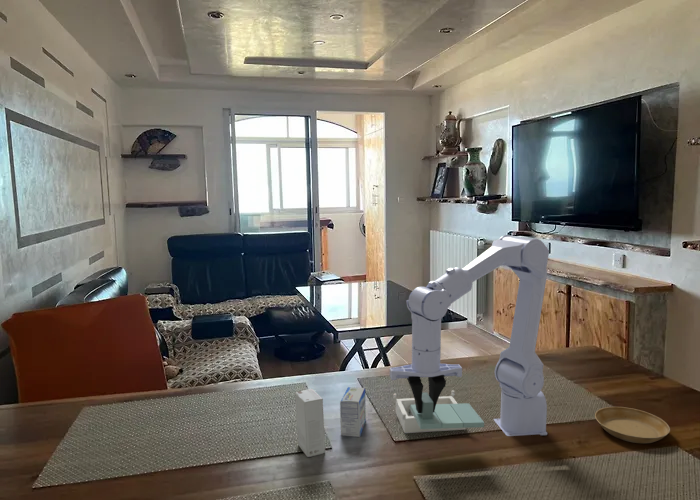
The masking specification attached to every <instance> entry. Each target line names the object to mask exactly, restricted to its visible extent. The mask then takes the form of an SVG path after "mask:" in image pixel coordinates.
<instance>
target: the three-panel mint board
mask: <svg viewBox="0 0 700 500" xmlns="http://www.w3.org/2000/svg"><path fill="white" fill-rule="evenodd" d="M433 403H434V402H433V401H432V399H431V398H430V396H429V392H427V391H426V392H422V413H418V412H417V410H416V405H410V410H411V412H412V414H413V415H414V417H415V419H416V421H417V423H418V425H419V427H420V429H438V428H467V429H468V428H469V429H470V428H471V429H472V428H485V422H484V420H483V419H482V418H481V416H480V415H479V414H478V412H477V411H476V410H475V409H474V408H473V407H472V405H471V404H470V403H469V402H468V403H467V402H466V403H463V402H462V403H458V404H436V407H435V411H434V412H433Z"/></svg>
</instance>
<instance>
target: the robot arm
mask: <svg viewBox="0 0 700 500" xmlns="http://www.w3.org/2000/svg"><path fill="white" fill-rule="evenodd" d="M549 255H550V249H548V247H547V246H546V244H545V243H544V241H542V240H541V239H539V238H528V237H519V236H515V235H510V234H503V235H502V236H500V237H499V238H498V239H495V240H493V241H492V243H491V246H490V247H489V248H488V249H486V250H485V251H483V252H482V253H481V254H479V255H478V256H477V257H476V258H475V259H473V260H471V261H470V262H469V263H468V264H467V265H465V266H464V267H463V268H461V267H456V266H455V267H449V268H447V269H445V273H443V274H442V275H441V276H439V277H437V278H436V279H434V280H430V281H429V282H428V283H427V285H426V286H424V285H423V286H421V285H420V286H417V287H415V288H414V289H412V291H411V292H410V294H409V296H408V299H407V300H405V301H406V307H407V309H408V311H409V312H410V313H411V314H410V315H411V316H410V317H411V323H412V324H411V326H412V327H411V363H410V364H405V365H401V366H395V367H389V378H390V380H391V381H397V380H398V379H406V380H407V381H408V384H409V387H410V389H411V392H412V394H413V398H414V399H415V404H416V410H417V412H418V413H422V393H423V390H424V385H423V383H422V379H421V378H427V379H428V380H427V381H428V395H429V396H430V398H431V399H432V401H433V402H434V403H433V412H434V411H435V407H436V403H437V400H438V398H439V397H441V393H442V392H443V390H444V389H445V387H446V384H447V379H446V378H445V377H456V378H462V377H463V367H462V366H461V365H460V364H459V363H458V364H451V363H441V350H442V349H441V347H442V344H441V343H442V342H441V341H442V340H441V339H442V319H443V317H445V316H446V315H447V312H448V310H449V307H451V305H452V304H453V303H454V302H456V301H457V300H459V299H460V298H463V296H464V295H466V294H467V293H469V292H470V291H472V289H473V283H474V282H476V281H478V280H479V279H480V278H482V277H484V276H485V275H487V274H490V273H491V272H493V271H494V270H496V269H498V268H499V267H502V266H506V267H508V268H510V269H511V270H512V272H513V273H514V274H515V275H516V277H517V278H518V279H519V282H518V289H517V295H516V302H515V308H514V316H513V320H512V327H511V328H512V329H511V333H510V340H509V346H508V347H507V348H506V349H504V350H502V351H501V352H500V355H499V359H498V361H497V363H496V365H495V367H494V377H495V379H496V381H497V382H498V383H499V386H498V387H499V388H500V389H501V393H500V418H493V421H494V423H496V425H498V427H499V428H500V430H502V432H503V434H505V436H507V437H514V436H515V437H516V436H531V435H532V436H533V435H535V436H536V435H540V436H547V435H548V431H547V415H548V414H547V412H548V408H547V407H548V405H547V398H546V396H545V395H544V394H545V393H544V392H543V391H542V389H543V388H544V383H545V378H544V372H543V371H544V363H543V361H542V360H541V359H540V357H539V356H538V354H537V353H536V348H537V347H536V345H537V339H538V335H539V334H538V333H539V327H540V321H541V316H542V310H543V309H542V308H543V304H544V296H545V291H546V283H547V277H548V270H547V268H548V267H547V266H548V260H549Z"/></svg>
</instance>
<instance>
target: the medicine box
mask: <svg viewBox="0 0 700 500" xmlns="http://www.w3.org/2000/svg"><path fill="white" fill-rule="evenodd" d="M366 400H367V399H366V388H364V387H355V386H350V387H349V386H348V387H347V388H346V390H345V392H344V394H343V395H342V398H341V400H340V401H339V415H340V416H339V417H340V418H339V419H340V436H346V437H355V438H356V437H358V438H359V437H361V435H362V432H363V430H364V427H365V424H366V421H367V420H366V419H367V416H366V415H367V414H366V413H367V412H366V409H367V408H366V406H367V405H366V404H367V403H366Z"/></svg>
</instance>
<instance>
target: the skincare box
mask: <svg viewBox="0 0 700 500" xmlns="http://www.w3.org/2000/svg"><path fill="white" fill-rule="evenodd" d="M294 398H295V399H294V400H295V402H294V403H295V417H296V431H297V433H296V434H297V435H296V436H297V445H298V446H299V448H300V449H301V451H302V452H303V453H304V454H305V456H306V457H307V458H310V457H315V456H320V455H323V454H325V453H326V441H325V440H326V438H325V422H324V421H325V418H324V399H323V397H322V396H320V394H318V392H316V391H315V390H314V389H313V388H308V389H304V390H299V391H295V392H294Z"/></svg>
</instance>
